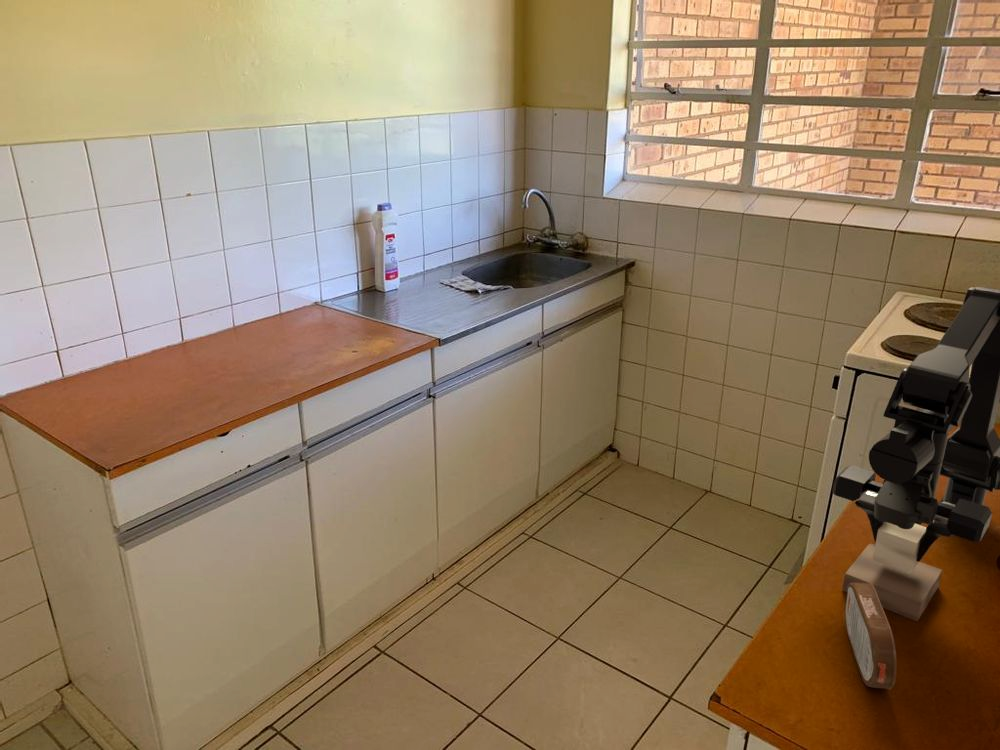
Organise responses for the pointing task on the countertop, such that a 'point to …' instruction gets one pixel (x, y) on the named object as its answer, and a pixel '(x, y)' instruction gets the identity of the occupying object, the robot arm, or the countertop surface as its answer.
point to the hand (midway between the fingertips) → (898, 552)
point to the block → (898, 546)
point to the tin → (870, 636)
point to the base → (896, 584)
